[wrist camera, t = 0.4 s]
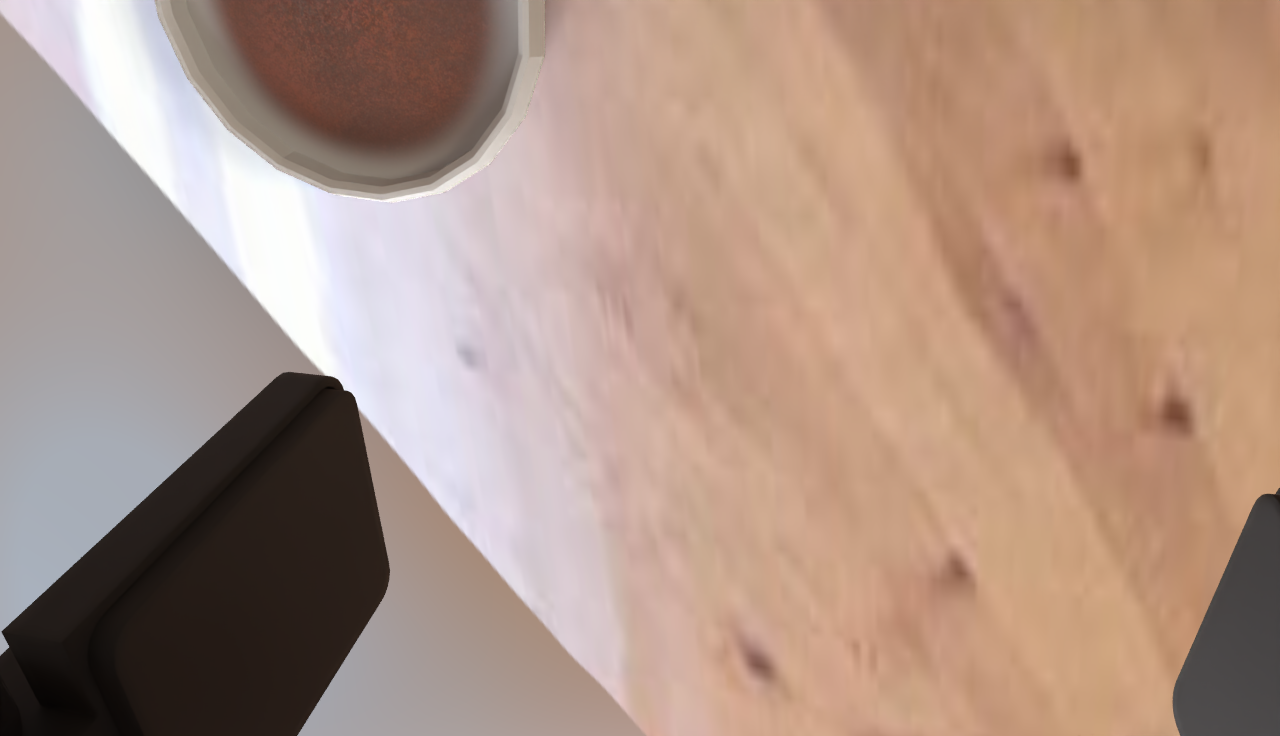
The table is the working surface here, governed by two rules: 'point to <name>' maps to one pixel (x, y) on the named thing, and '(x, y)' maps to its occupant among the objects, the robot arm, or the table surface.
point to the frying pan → (364, 84)
